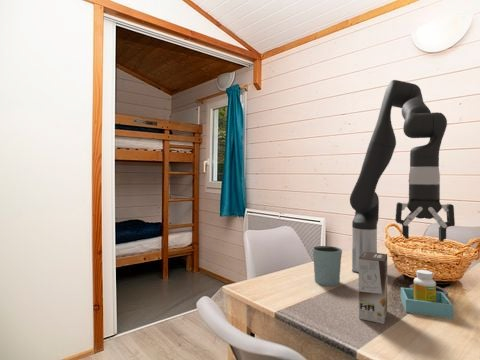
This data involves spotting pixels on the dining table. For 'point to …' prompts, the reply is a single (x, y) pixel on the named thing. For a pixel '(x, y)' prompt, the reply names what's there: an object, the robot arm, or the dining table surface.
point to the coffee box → (373, 287)
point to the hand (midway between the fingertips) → (423, 239)
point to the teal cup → (327, 265)
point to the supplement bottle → (424, 286)
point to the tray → (427, 304)
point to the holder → (436, 290)
